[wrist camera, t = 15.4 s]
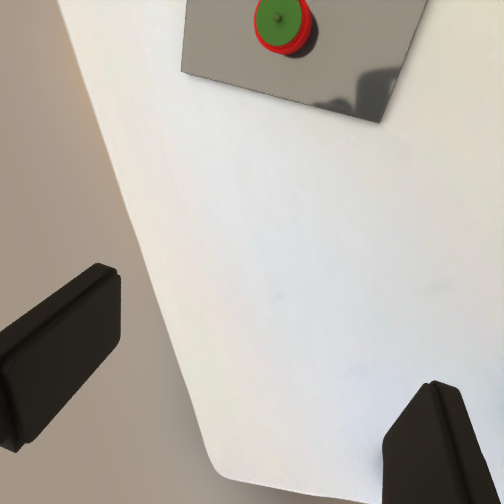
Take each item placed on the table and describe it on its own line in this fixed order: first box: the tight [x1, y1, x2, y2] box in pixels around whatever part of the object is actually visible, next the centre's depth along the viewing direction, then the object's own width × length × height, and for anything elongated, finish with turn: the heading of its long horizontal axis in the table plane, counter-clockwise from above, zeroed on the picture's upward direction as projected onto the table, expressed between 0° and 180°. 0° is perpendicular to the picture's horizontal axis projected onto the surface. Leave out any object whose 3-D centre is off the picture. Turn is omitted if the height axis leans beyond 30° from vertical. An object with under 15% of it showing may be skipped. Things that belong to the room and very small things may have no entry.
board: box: [181, 0, 427, 123], centre depth 29 cm, size 20×11×1 cm, turn 78°
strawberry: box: [254, 0, 312, 55], centre depth 26 cm, size 4×4×7 cm
